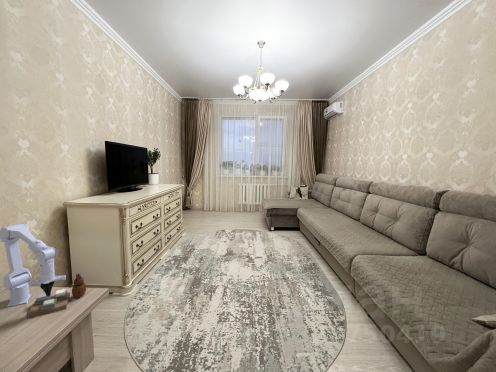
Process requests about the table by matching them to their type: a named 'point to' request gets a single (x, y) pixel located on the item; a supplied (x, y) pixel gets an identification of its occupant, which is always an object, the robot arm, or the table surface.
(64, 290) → the white button
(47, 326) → the table surface
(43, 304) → the green button
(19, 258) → the robot arm
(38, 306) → the console
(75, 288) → the wooden figurine
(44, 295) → the grey button
